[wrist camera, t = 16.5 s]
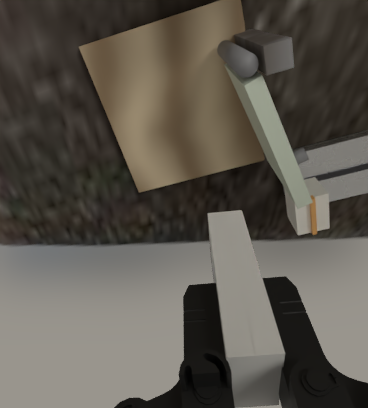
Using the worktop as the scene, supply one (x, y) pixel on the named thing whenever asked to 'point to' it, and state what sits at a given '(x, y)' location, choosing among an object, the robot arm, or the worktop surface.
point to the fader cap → (310, 210)
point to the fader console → (339, 165)
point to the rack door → (265, 120)
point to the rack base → (181, 93)
